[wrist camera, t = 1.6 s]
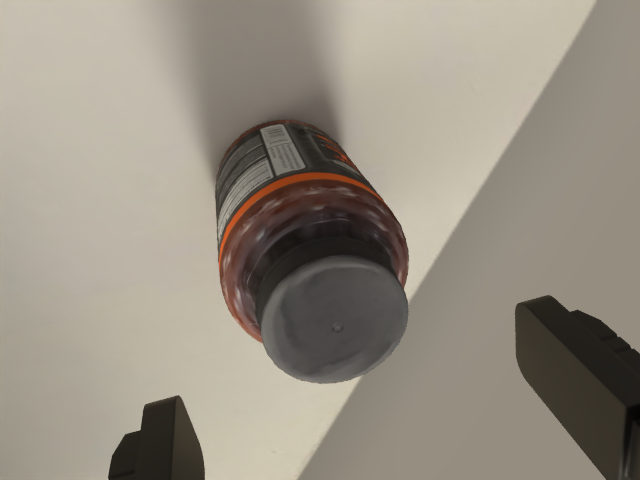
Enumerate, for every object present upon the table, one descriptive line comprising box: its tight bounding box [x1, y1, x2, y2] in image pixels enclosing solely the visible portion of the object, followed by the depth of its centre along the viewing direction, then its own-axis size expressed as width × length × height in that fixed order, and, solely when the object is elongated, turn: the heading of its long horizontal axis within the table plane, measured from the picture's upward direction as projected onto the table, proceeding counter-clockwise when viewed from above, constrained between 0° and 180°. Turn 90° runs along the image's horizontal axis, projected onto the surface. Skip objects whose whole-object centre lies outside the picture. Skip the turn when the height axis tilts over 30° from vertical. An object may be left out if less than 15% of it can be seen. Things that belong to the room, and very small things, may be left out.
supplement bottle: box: [215, 120, 409, 384], centre depth 19 cm, size 6×6×11 cm
